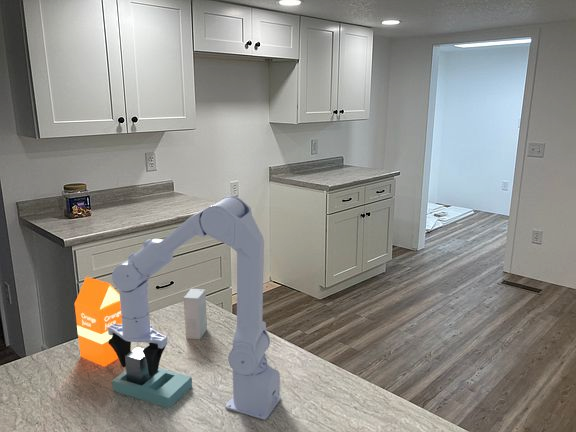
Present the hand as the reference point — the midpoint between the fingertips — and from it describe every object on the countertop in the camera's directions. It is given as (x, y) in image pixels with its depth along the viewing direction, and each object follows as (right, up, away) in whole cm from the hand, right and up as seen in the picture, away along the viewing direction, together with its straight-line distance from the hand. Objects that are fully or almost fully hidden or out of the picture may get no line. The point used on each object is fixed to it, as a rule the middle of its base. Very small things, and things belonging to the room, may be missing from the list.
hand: (139, 369), depth 104 cm
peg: (0, -4, +1) cm, 4 cm away
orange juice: (-13, -1, +13) cm, 18 cm away
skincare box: (+8, +2, +23) cm, 25 cm away
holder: (+3, -4, 0) cm, 5 cm away
